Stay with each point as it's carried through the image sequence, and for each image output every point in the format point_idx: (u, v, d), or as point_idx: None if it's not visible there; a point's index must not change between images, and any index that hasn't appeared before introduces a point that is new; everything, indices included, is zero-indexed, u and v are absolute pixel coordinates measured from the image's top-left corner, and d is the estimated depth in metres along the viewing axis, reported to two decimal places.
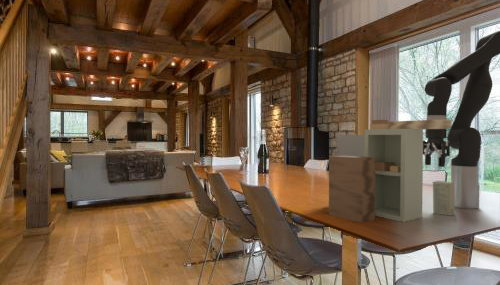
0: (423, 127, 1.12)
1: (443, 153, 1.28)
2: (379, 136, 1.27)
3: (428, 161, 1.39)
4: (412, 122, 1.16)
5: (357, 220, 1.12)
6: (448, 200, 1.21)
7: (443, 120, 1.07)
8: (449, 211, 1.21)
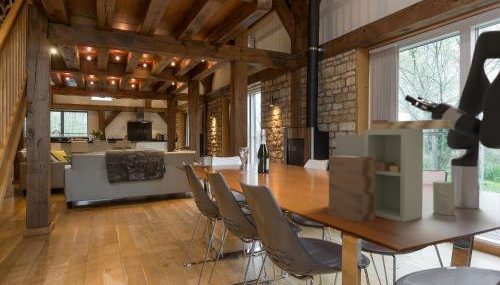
0: (423, 127, 1.12)
1: None
2: (379, 136, 1.27)
3: None
4: (412, 122, 1.16)
5: (357, 220, 1.12)
6: (448, 200, 1.21)
7: (443, 120, 1.07)
8: (449, 211, 1.21)
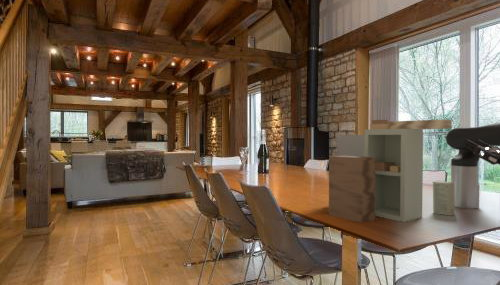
0: (423, 127, 1.12)
1: None
2: (379, 136, 1.27)
3: None
4: (412, 122, 1.16)
5: (357, 220, 1.12)
6: (448, 200, 1.21)
7: (443, 120, 1.07)
8: (449, 211, 1.21)
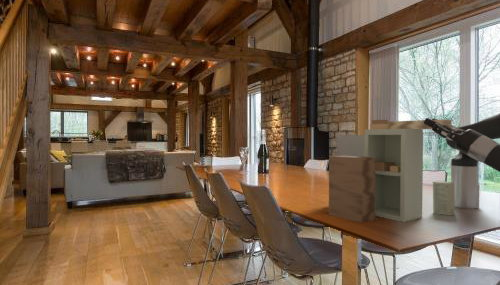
0: (423, 127, 1.12)
1: None
2: (379, 136, 1.27)
3: None
4: (412, 122, 1.16)
5: (357, 220, 1.12)
6: (448, 200, 1.21)
7: (443, 120, 1.07)
8: (449, 211, 1.21)
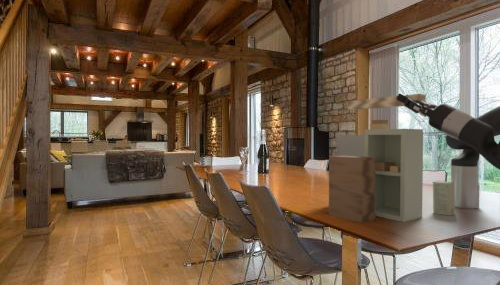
0: (396, 103, 1.05)
1: None
2: (379, 136, 1.27)
3: None
4: (385, 99, 1.08)
5: (357, 220, 1.12)
6: (448, 200, 1.21)
7: (416, 95, 0.99)
8: (449, 211, 1.21)
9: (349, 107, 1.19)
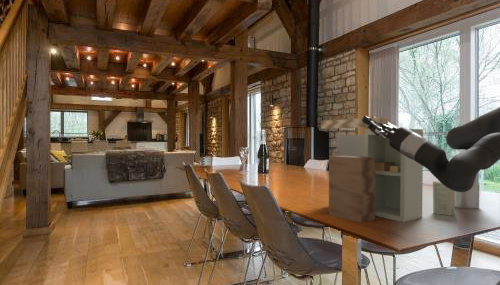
0: (362, 125, 1.12)
1: None
2: (379, 136, 1.27)
3: None
4: (352, 120, 1.15)
5: (357, 220, 1.12)
6: (448, 200, 1.21)
7: (379, 118, 1.07)
8: (449, 211, 1.21)
9: (322, 126, 1.27)
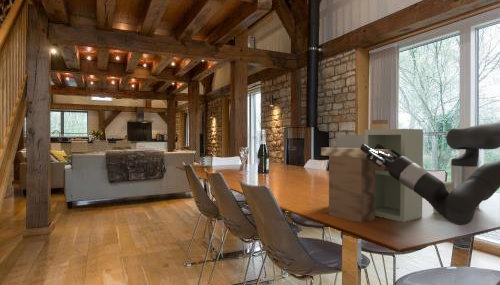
0: (362, 156, 1.12)
1: None
2: (379, 136, 1.27)
3: None
4: (352, 150, 1.15)
5: (357, 220, 1.12)
6: None
7: (379, 150, 1.07)
8: None
9: (322, 153, 1.27)
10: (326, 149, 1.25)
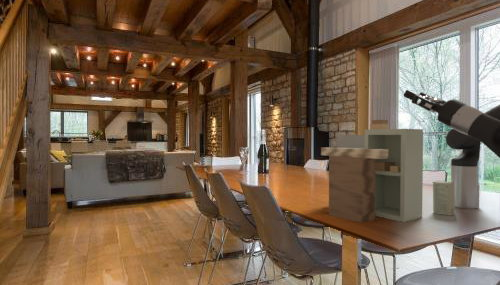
0: (362, 156, 1.12)
1: None
2: (379, 136, 1.27)
3: None
4: (352, 150, 1.15)
5: (357, 220, 1.12)
6: (448, 200, 1.21)
7: (379, 150, 1.07)
8: (449, 211, 1.21)
9: (322, 153, 1.27)
10: (326, 149, 1.25)
